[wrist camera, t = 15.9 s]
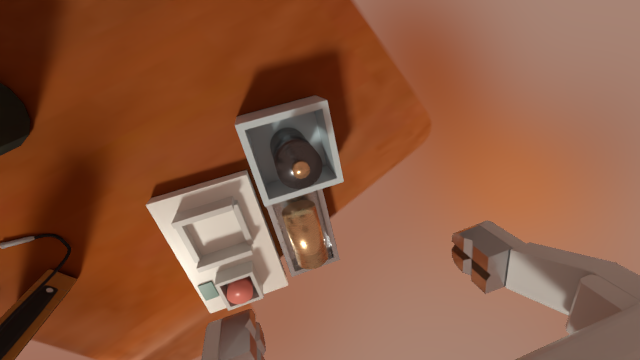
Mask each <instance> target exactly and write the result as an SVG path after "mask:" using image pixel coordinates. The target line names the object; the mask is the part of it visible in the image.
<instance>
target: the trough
mask: <svg viewBox="0 0 640 360" xmlns="http://www.w3.org/2000/svg"><path fill="white" fill-rule="evenodd" d="M300 200H310V201H312V202H314V203H315V206H316V209H317V213H318V217H319V221H320V224H321V228H322V232H323V236H324V239H325V243H326V247H327V251H328V259H327V261H326V262H325V263H324V264H323V265H326V264H329V263H332V262H334V261H337V260H339V255H338V251H337V247H336V243H335V239H334V235H333V231H332V227H331V222H330V218H329V214H328V210H327V206H326V202H325V198H324V194H323V190H322V189H320V190H316V191H313V192H310V193H307V194H304V195H301V196H298V197H295V198H291V199H288V200H285V201H282V202H279V203H276V204H273V205H269V206H266V207H267V210H268V212H269V215H270V218H271V221H272V223H273V226H274V229H275V232H276V234H277V237H278V240H279V243H280V245H281V248H282V251H283V254H284V257H285V259H286V262H287V265H288V268H289V270H290V273H291V276H292V277H293V276H296V275H298V274H301V273H304V272H307V271H309V270H312V269H304V268H302V267H300V266H299V264H298V261H297V259H296V256H295V253H294V250H293V247H292V244H291V241H290V238H289V235H288V232H287V229H286V226H285V223H284V220H283V217H282V211H283V209H284V208H285V207H286V206H287V205H289V204H291V203H293V202H296V201H300ZM323 265H322V266H323Z"/></svg>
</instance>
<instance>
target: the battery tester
mask: <svg viewBox="0 0 640 360" xmlns="http://www.w3.org/2000/svg"><path fill="white" fill-rule="evenodd" d="M146 206H147V208H148V210H149V211H150V213H151V215H152V216H153V218H154V220H155V221H156V223H157V225H158V227H159V228H160V230H161V232H162V233H163V235H164V237H165V238H166V240H167V242H168V243H169V245H170V247H171V248H172V250H173V252H174V253H175V255H176V257H177V258H178V260H179V262H180V263H181V265H182V267H183V268H184V270H185V272H186V274H187V275H188V277H189V279H190V280H191V282H192V284H193V285H194V287H195V289H196V290H197V292H198V294H199V295H200V297H201V299H202V300H203V302H204V304H205V305H206V307H207V309H208V310H209V312H210V313H213V312H216V311H219V310H221V309H224V308H227V309H228V311H229V310H232V309H235V308H237V307H240V306H243V305H246V304H248V303H251V302H254V301H256V300H259V299H262V298H264V294H265V293H268V292H271V291H274V290H276V289H279V288H282V287H285V286H287V285H288V281H287V276H286V273H285V271H284V268H283V265H282V263H281V260H280V257H279V255H278V252H277V249H276V247H275V244H274V241H273V239H272V236H271V233H270V231H269V228H268V225H267V223H266V220H265V217H264V215H263V212H262V209H261V207H260V204H259V201H258V199H257V196H256V193H255V191H254V188H253V185H252V182H251V180H250V177H249V174H248V172H247V170H244V171H241V172H237V173H234V174H231V175H227V176H224V177H221V178H217V179H214V180H210V181H207V182H204V183H200V184H197V185H194V186H190V187H187V188H184V189H180V190H177V191H173V192H170V193H167V194H163V195H160V196H157V197H153V198H151V199H150V200H149V201H148V203H147V204H146ZM248 276H250V277H251V279H252V281H253V296H252V298H251V299H250V300H249V301H247V302H246V303H243V304H234V303H231V302H230V301H229V300H228V299H227V288H228V283H231V282H234V281H236V280H239V279H242V278H245V277H248Z"/></svg>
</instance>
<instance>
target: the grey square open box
mask: <svg viewBox="0 0 640 360" xmlns="http://www.w3.org/2000/svg"><path fill="white" fill-rule="evenodd" d="M235 127H236V130H237V133H238V135H239V138H240V141H241V143H242V146H243V149H244V152H245V154H246V157H247V160H248V163H249V165H250V168H251V171H252V174H253V176H254V179H255V182H256V184H257V187H258V190H259V193H260V195H261V198H262V201H263V204H264V206H265V207H266V206H269V205H273V204H276V203H279V202H282V201H285V200H288V199H291V198H295V197H298V196H301V195H304V194H307V193H310V192H313V191H316V190H320V189H323V188H326V187H329V186H332V185H335V184H338V183H342V182H344V180H343V175H342V170H341V165H340V160H339V155H338V150H337V146H336V141H335V136H334V131H333V126H332V121H331V116H330V111H329V106H328V101H327V100H326V99H324V98H321V97H319V96H316V95H314V96H311V97H307V98H303V99H299V100H296V101H292V102H288V103H285V104H281V105H277V106H273V107H270V108H266V109H262V110H259V111H255V112H251V113H247V114H244V115H240V116H237V118H236V122H235ZM288 127H289V128H294V129H297V130H298V131H300V132H301V133H302V134H303V136H304V137H305V138H306V139H307V140H308V142H309V143H310V144H311V145H312V146H313V148H314V149H315V150H316V151H317V153H318V154H319V155H320V157H321V160H322V164H323V167H322V173H321V175H320V177H319V179H318V180H317V181H316V182H315V183H314V184H313V185H311V186H309V187H307V188H304V189H293V188H290V187H288V186H286V185H284V184H283V183H282V182H281V180H280V179H279V177H278V174H277V171H276V167H275V164H274V160H273V156H272V153H271V149H270V141H271V138H272V137H273V135H274V134H275V133H276V132H277V131H278V130H280V129H282V128H288Z"/></svg>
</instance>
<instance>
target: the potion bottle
mask: <svg viewBox="0 0 640 360" xmlns="http://www.w3.org/2000/svg"><path fill="white" fill-rule="evenodd" d="M29 131H30V118H29V116H28V113H27V111H26V108H25V106H24V104H23V103H22V102H21V101H20V100H19V98H18V97H17V96H16V95H15V94H14V93H13V92H12V91H11V90H10V89H9V88H7V87H6V86H4V85H3V84H1V83H0V155H3V154H5V153H7V152H9V151H11V150H13V149H15V148H17V147H19V146H21V145H22V143H23V142H24V141H25V139H26V138H27V137H28V135H29Z"/></svg>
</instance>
